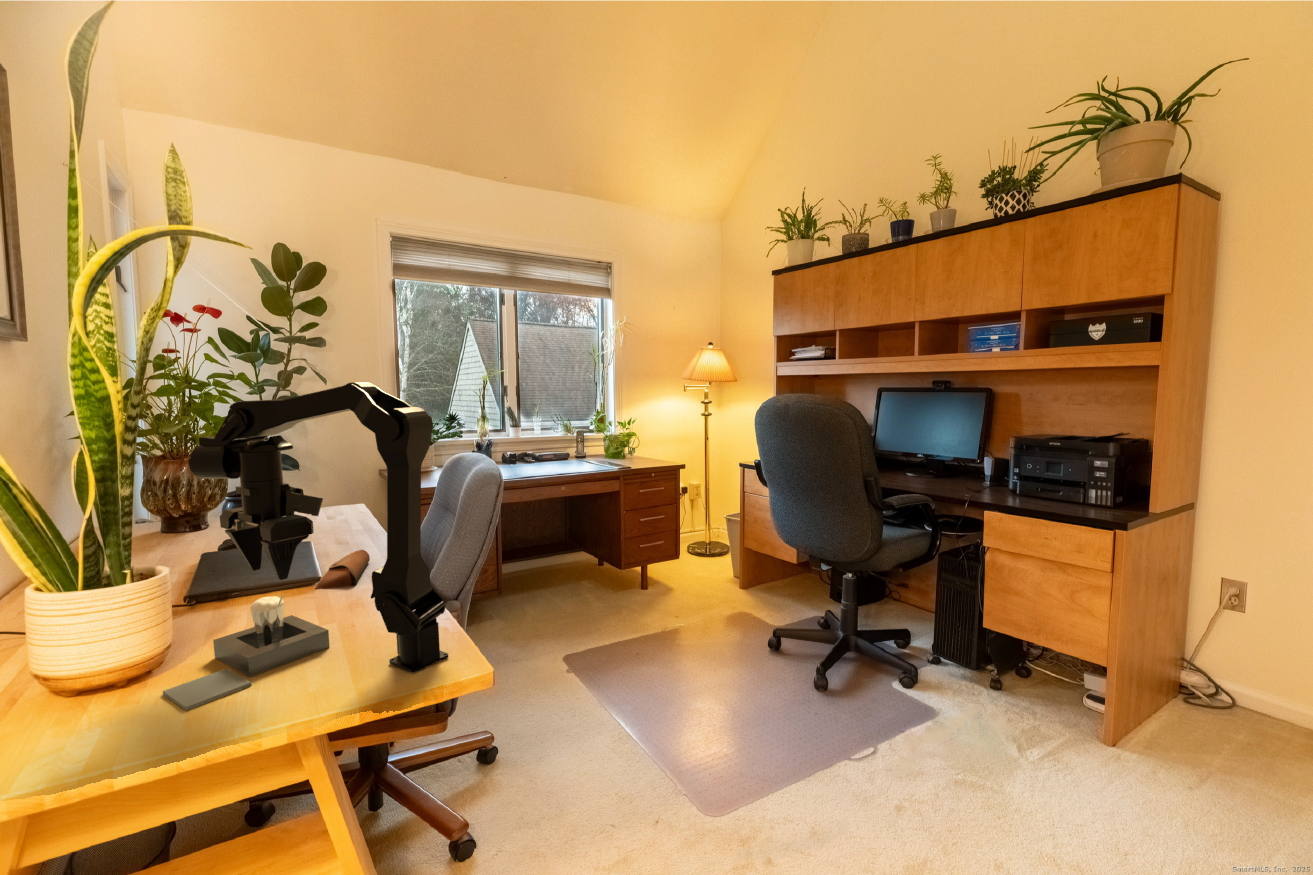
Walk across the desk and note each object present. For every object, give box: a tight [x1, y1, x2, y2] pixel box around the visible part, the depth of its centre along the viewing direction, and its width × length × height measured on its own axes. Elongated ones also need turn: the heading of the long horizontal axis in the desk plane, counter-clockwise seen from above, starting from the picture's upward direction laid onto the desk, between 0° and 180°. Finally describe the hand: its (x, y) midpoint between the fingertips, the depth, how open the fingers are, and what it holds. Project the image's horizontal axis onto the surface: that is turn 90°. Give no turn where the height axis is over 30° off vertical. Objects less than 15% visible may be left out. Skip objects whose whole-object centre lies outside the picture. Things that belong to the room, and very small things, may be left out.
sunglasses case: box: [314, 549, 371, 590], centre depth 139 cm, size 18×7×7 cm, turn 17°
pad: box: [162, 668, 252, 711], centre depth 88 cm, size 8×8×1 cm
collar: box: [212, 614, 330, 678], centre depth 99 cm, size 12×12×3 cm
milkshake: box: [249, 593, 285, 648], centre depth 99 cm, size 4×5×10 cm
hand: (269, 574), depth 99 cm, fingers open, 9 cm apart
